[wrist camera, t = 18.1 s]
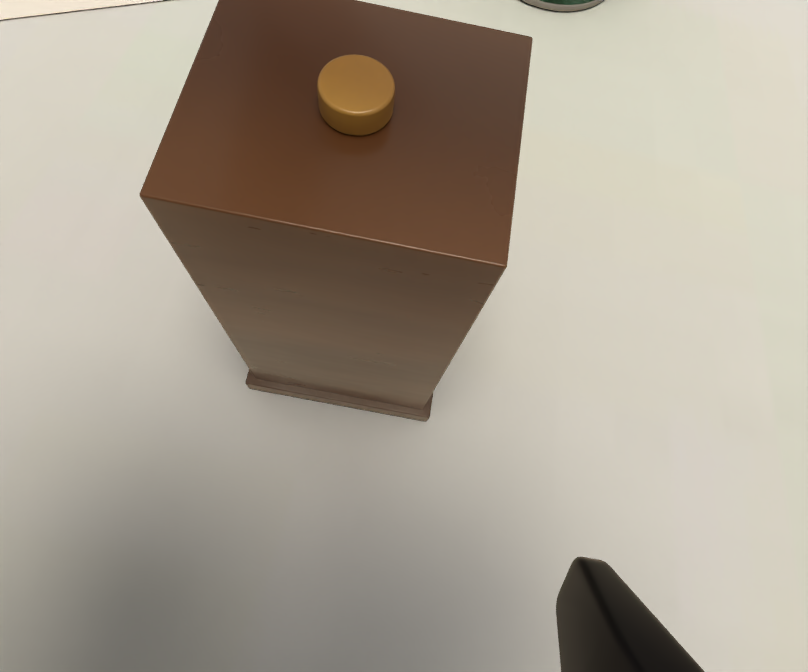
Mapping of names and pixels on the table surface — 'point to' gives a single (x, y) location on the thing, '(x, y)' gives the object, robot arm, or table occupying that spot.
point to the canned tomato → (563, 4)
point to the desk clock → (344, 191)
